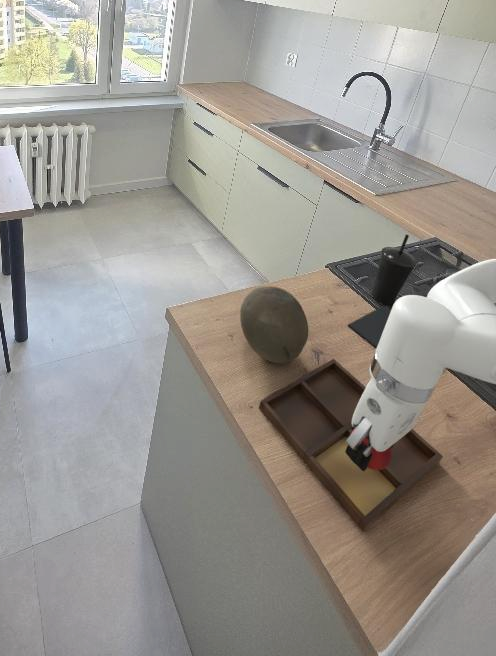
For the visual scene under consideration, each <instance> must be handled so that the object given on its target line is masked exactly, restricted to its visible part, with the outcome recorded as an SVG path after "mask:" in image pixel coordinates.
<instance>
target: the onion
mask: <svg viewBox="0 0 496 656" xmlns="http://www.w3.org/2000/svg"><path fill="white" fill-rule="evenodd" d="M355 429H356V428H354V430H355ZM354 430H353V431H354ZM353 431H352V432H353ZM351 434H352V433H351ZM351 434H350V435H351ZM362 442H363V443H364V444H365V445H366V446H367V445H368V444H369V442H370V441H369V440H368V439H367V438H366V437H365V438H364V439H363V440H362ZM371 453H372V455H373V456H372V458H371V460H370V462H369V465H368V467H367V468H369V469H373V470H382V469H385V468H386V467H387V466H388V465H389V463H390V462H391V458H392V449H391V447H389V448H388V449H387V450H385V451H383V452H379V451H376V450H375V449H374V448H373V450H372V451H371Z"/></svg>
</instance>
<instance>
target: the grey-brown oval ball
mask: <svg viewBox="0 0 496 656" xmlns="http://www.w3.org/2000/svg"><path fill="white" fill-rule="evenodd" d="M239 311H240V312H239V314H240V315H239V316H240V327H241V330H242V333H243V335H244V337H245V339H246V341H247V343H248V344H249V346H250V347H251V349H253V351H254V352H255V353H256V354H258V356H260V357H262V358H263V359H264V360H266V361H268V362H271V363H274V364H287V363H290V362H292V361H294V360H295V359H297V358H298V357H299V356H300V354H301V353H302V351H304V348H305V346H306V345H307V342H308V339H309V323H308V319H307V316H306V313H305V311H304V309H303V307H302V305H301V303H300V302H299V300H297V298H296V297H294V295H292V294H291V292H290V291H287V290H286V289H284V288H281V287H278V286H273V285H272V286H271V285H269V286H260V287H256V288H254V289H252V290H251V291H249V293H248V294H247V295H245V297H244V299H243V301H242V304H241V306H240V310H239Z"/></svg>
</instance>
